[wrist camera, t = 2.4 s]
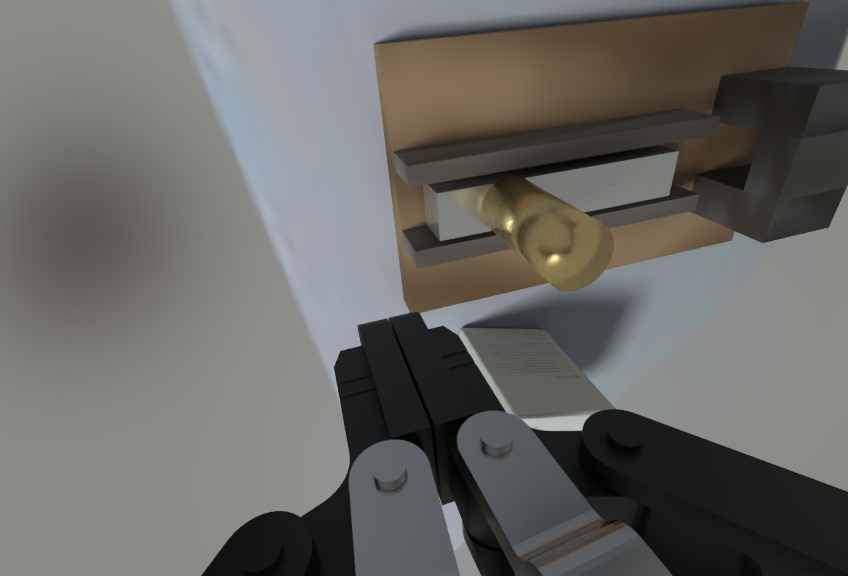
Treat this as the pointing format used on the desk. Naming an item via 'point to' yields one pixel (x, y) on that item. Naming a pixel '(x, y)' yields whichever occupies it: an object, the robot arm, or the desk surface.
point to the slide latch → (552, 208)
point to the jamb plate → (614, 133)
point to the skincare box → (534, 377)
